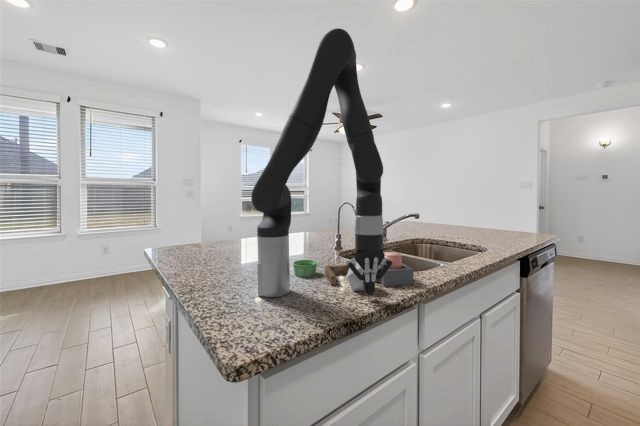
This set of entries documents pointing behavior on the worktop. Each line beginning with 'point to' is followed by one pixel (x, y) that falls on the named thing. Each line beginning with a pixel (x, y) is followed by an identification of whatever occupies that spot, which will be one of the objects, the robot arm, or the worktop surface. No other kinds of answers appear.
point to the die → (355, 279)
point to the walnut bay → (337, 272)
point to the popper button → (394, 260)
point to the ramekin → (304, 268)
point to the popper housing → (397, 276)
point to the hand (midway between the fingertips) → (369, 294)
